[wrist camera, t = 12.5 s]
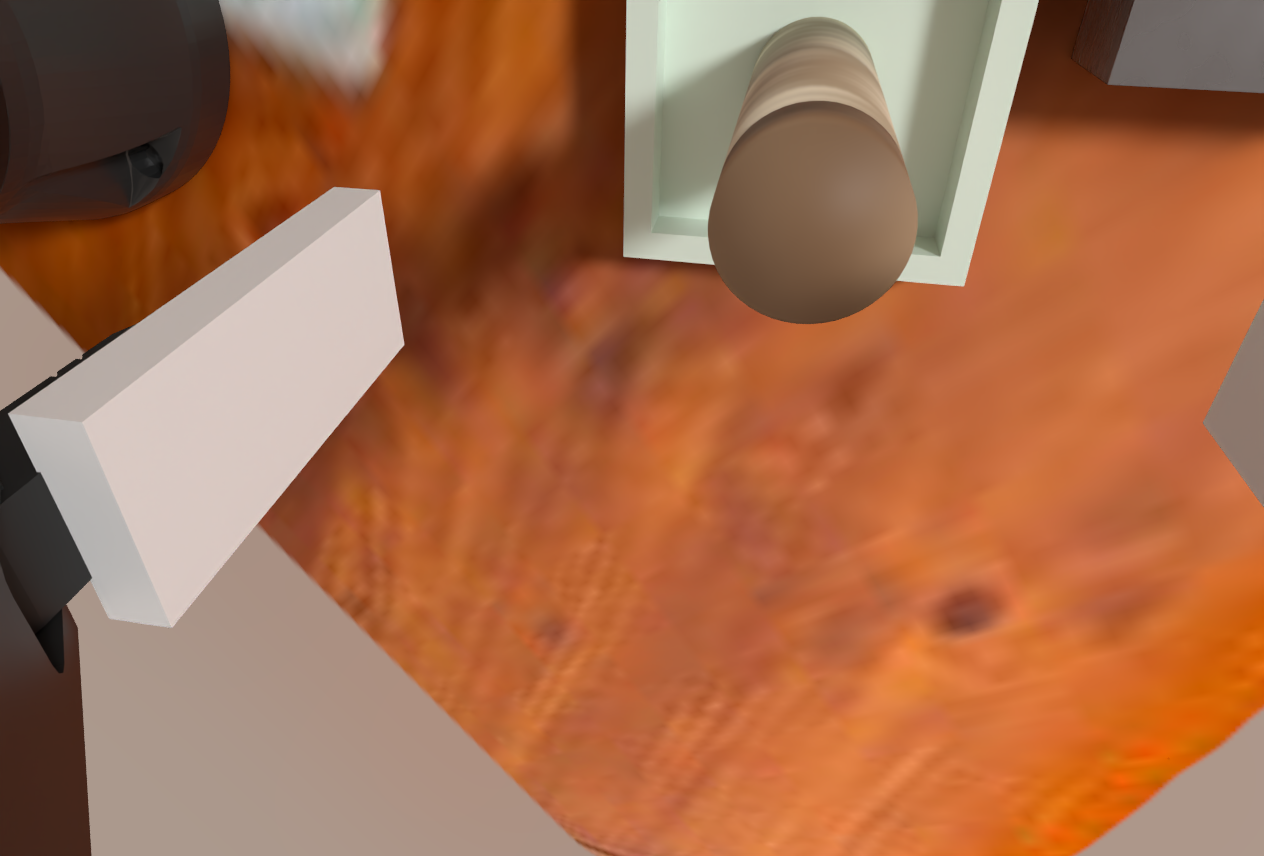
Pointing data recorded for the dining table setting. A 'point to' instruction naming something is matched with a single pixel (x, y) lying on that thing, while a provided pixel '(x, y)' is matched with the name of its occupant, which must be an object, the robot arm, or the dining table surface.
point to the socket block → (1174, 43)
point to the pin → (813, 182)
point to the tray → (911, 84)
